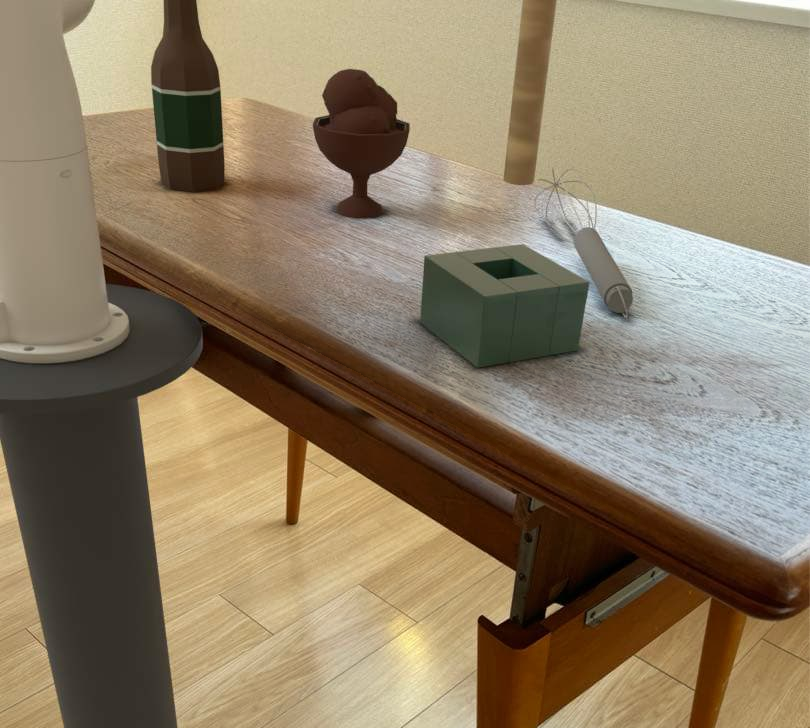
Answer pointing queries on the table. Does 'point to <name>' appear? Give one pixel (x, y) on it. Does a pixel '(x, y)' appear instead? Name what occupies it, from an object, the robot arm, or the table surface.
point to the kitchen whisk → (595, 255)
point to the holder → (502, 304)
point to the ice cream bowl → (359, 134)
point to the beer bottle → (187, 103)
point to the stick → (529, 90)
